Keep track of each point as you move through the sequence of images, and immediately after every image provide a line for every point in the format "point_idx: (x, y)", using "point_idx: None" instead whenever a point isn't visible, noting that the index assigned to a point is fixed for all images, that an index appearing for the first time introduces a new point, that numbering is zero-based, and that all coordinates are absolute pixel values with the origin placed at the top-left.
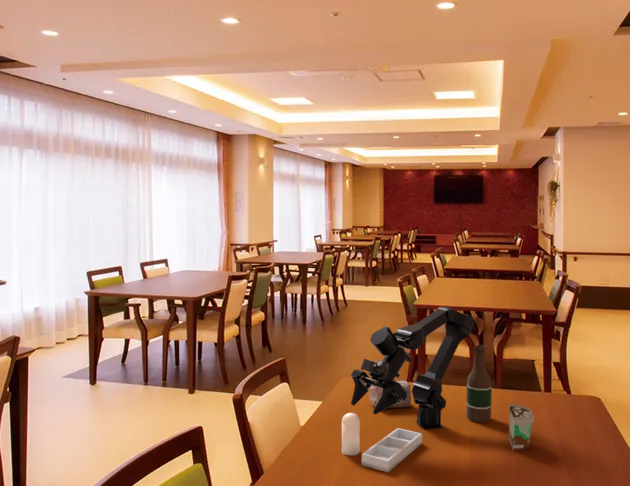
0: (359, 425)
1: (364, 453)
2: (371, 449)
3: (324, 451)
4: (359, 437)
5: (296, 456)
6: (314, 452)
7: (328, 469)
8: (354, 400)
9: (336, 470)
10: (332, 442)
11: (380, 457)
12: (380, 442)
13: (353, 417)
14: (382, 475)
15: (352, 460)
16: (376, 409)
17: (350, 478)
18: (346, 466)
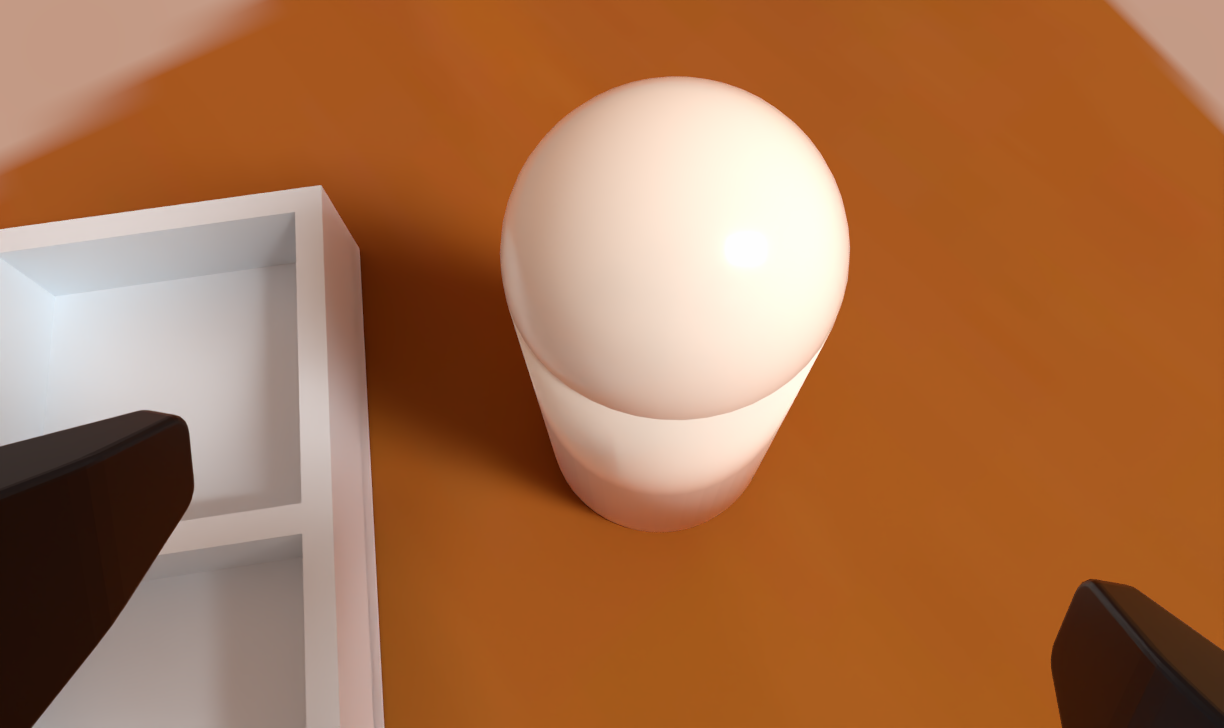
0: (524, 350)
1: (302, 216)
2: (301, 374)
3: (872, 244)
4: (551, 428)
5: (969, 2)
6: (925, 162)
7: (557, 4)
8: (1129, 686)
9: (488, 32)
10: (1007, 490)
11: (234, 460)
12: (307, 641)
13: (559, 140)
14: (77, 212)
15: (499, 271)
16: (36, 446)
17: (300, 4)
18: (465, 139)
